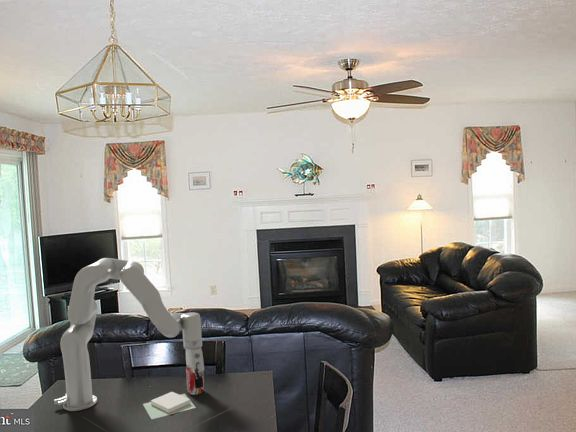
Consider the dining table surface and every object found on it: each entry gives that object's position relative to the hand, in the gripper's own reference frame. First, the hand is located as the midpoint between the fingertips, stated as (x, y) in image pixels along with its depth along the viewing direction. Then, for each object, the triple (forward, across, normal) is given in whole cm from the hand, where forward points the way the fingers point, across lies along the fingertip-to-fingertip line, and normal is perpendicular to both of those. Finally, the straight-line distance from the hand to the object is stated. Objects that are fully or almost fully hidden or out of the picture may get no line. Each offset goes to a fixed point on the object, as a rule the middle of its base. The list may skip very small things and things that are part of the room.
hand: (195, 383), depth 211 cm
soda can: (+4, 0, 0) cm, 4 cm away
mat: (+4, -6, +13) cm, 15 cm away
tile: (+2, -8, +17) cm, 19 cm away
